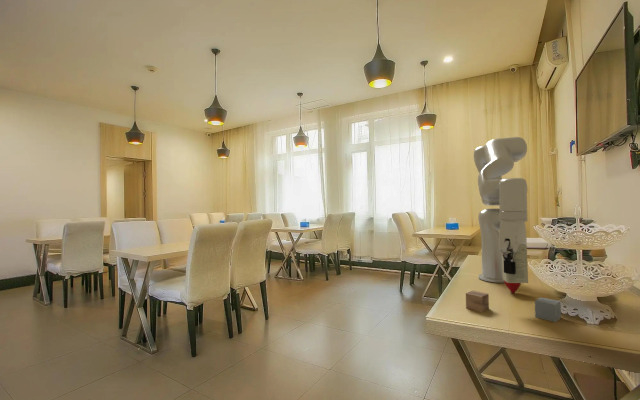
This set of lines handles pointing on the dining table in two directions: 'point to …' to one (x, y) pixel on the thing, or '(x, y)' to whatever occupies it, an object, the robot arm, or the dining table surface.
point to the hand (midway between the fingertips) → (514, 271)
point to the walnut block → (477, 301)
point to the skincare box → (518, 267)
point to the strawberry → (512, 286)
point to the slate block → (548, 309)
